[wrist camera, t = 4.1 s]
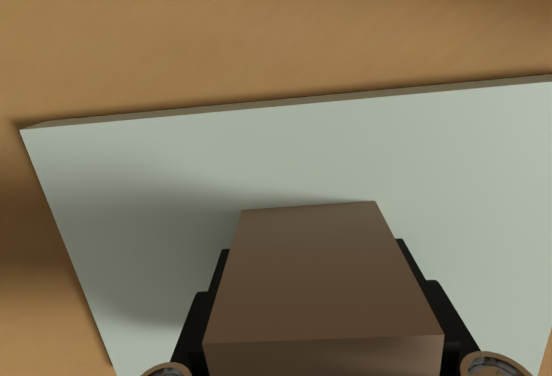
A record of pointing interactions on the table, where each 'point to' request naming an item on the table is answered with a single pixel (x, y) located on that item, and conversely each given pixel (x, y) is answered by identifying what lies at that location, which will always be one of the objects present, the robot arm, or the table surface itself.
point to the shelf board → (309, 154)
